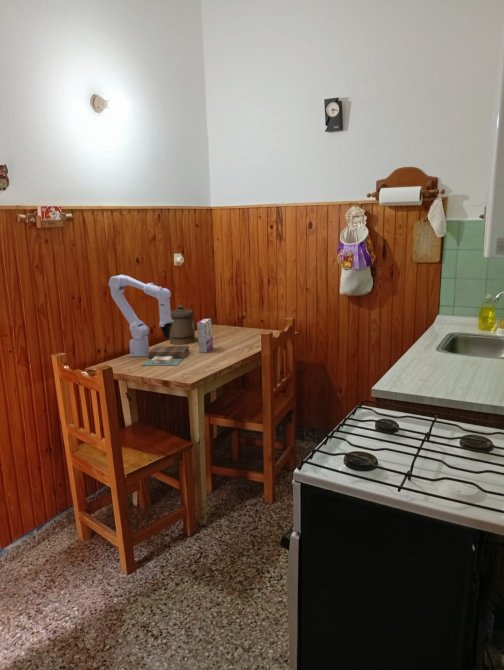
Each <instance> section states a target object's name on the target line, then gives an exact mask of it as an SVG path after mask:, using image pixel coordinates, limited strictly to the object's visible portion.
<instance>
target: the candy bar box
mask: <svg viewBox="0 0 504 670" xmlns="http://www.w3.org/2000/svg"><path fill="white" fill-rule="evenodd" d="M212 325H213V324H212V318H203V319H201V320H199V321H198V322H196V327H197V341H198V351H199V352H198V353H201V354H208V353H209V352H210V351H211V350H213V348H214V340H213V339H214V338H213V328H212V327H213V326H212Z"/></svg>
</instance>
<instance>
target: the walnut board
mask: <svg viewBox="0 0 504 670" xmlns="http://www.w3.org/2000/svg"><path fill="white" fill-rule="evenodd" d="M189 347H190V346H189V345H172V346H171V345H166V346H165V345H164V346H162V345H161V346H154V347H153V348H152V349H149V352H148V354H149V355H148V359H153V358H154V357H159V356H173V359H183V360H184V359H185V358H186V357H188V355H189V354H190V349H189Z"/></svg>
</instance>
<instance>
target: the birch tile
mask: <svg viewBox="0 0 504 670" xmlns="http://www.w3.org/2000/svg"><path fill="white" fill-rule="evenodd" d="M172 361H173V356H159V357H154V358H153V359H152V364H164V363H171V362H172Z"/></svg>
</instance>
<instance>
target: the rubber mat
mask: <svg viewBox="0 0 504 670" xmlns="http://www.w3.org/2000/svg"><path fill="white" fill-rule="evenodd" d="M183 360H184V359H173V361H172V362H171V363H164V364H152V359H149V358H148V359H147V360H146V361H144V362H143V363H142V364H141V366H142V367H149V366H150V367H151V366H153V367H155V366H156V367H157V366H158V367H159V366H160V367H162V366H164V367H165V366H166V367H167V366H168V367H169V366H170V367H171V366H174V367H175V366H178V365H179V364H180V363H181V362H182V361H183Z"/></svg>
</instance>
